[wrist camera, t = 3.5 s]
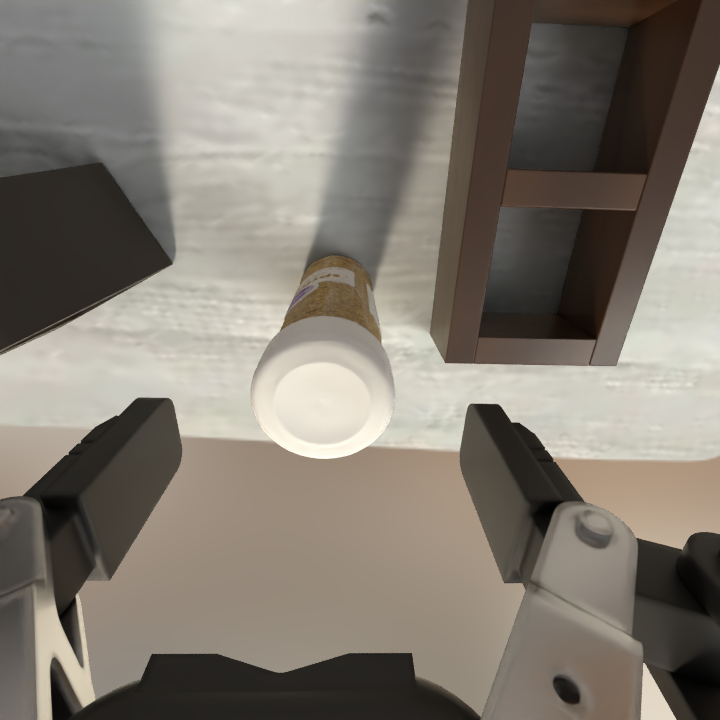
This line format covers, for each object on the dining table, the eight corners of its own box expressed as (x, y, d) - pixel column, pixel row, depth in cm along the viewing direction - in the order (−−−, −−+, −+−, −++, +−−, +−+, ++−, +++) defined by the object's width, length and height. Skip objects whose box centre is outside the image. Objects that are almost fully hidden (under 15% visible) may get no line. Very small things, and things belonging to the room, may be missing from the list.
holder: (429, 334, 25) (445, 363, 21) (470, -25, 18) (506, -87, 14) (573, 337, 26) (616, 366, 22) (673, -14, 18) (767, -71, 14)
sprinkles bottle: (320, 239, 23) (286, 307, 10) (386, 277, 24) (426, 379, 11) (287, 305, 24) (224, 430, 12) (350, 338, 25) (352, 483, 13)
